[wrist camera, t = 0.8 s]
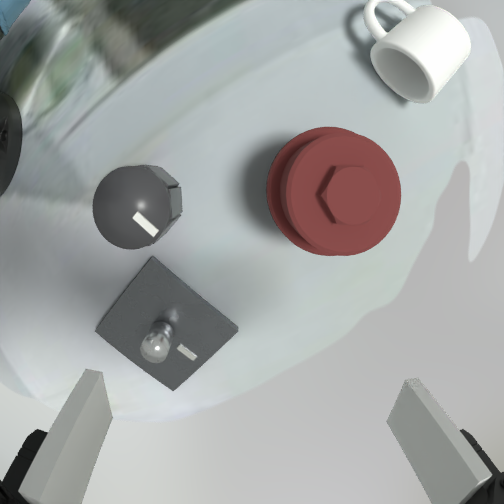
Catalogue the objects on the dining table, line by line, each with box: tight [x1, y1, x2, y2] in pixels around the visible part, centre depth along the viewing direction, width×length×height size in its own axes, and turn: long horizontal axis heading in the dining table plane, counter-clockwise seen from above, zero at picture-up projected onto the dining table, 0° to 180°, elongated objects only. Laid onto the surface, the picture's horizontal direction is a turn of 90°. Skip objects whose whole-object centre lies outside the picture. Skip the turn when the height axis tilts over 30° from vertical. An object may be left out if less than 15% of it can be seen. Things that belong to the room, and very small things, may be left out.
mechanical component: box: [266, 127, 401, 256], centre depth 24 cm, size 12×10×10 cm
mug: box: [363, 0, 471, 104], centre depth 23 cm, size 12×10×8 cm
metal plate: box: [95, 256, 238, 391], centre depth 31 cm, size 12×12×5 cm
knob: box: [93, 165, 182, 249], centre depth 27 cm, size 7×7×6 cm
